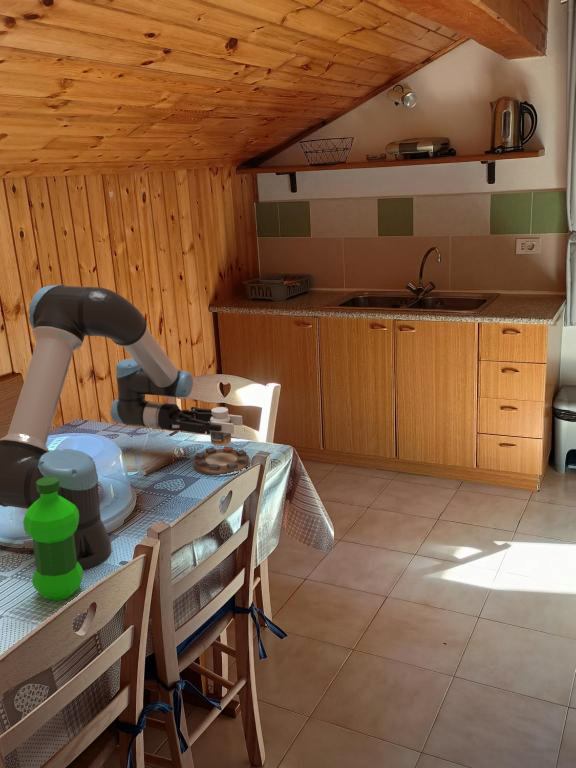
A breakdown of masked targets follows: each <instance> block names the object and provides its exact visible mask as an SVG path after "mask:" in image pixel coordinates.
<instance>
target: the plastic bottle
mask: <svg viewBox="0 0 576 768" xmlns="http://www.w3.org/2000/svg"><path fill="white" fill-rule="evenodd" d="M36 488H37V492H38V493H40V498H39V499H38V500H37V501H35V502H34V503H33V504H32V505H31V506H30V507H29V508H28V509H26V512H25V516H24V518H23V521H22V523H23V529H24V531H25V534H26V535H28V536H29V537H30V538H31V539H32V546H33V547H32V548H33V553H34V563H35V571H34V574H33V576H32V579H31V580H32V581H31V582H32V586H33V588H34V589H35V591H37V592H38V594H40V595H41V596H42V597H44V598H46V599H49V600H50V601H57V602H59V601H63V600H66V599H68V598H69V597H71V596H72V595H73V594H74V593H75V592H76V591H77V590H78V589H79V588H80V586H81V583H82V580H83V576H84V575H83V574H84V569H82V567H81V565H80V564H79V563H78V561H77V557H76V547H75V537H74V532H75V531H76V529H77V526H78V522H79V511H78V509H77V507H76V506H75V505H74V504H73V503H71V502H70V501H68V500H66V499H65V498H63V497H61V496H59V495H58V493H57V491H58V490H59V488H60V485H59V479H58V478H57V477H50V476H49V477H43V478H41V479H39V480H37V482H36Z"/></svg>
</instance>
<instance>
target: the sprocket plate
mask: <svg viewBox="0 0 576 768" xmlns="http://www.w3.org/2000/svg"><path fill="white" fill-rule="evenodd" d="M192 462H193V463H192V465H193V469H194V471H196V472H197V473H199V474H201V475H204V474H205V475H204V476H208V475H220V474H227V473H231V472H234V471H239V470H240V471H242V470H241V469H243V468H247V466H248V465H249V464H251V463H250V456H249V455H248V454H247V451H245V450H243V449H239V450H237V449H234V448H233V446H227V445H224V447H223V448H220V449H219V448H218V449H216V448H215V447H209V448H205V451H204V452H197V453H196V454H195V455H194V458H193V461H192ZM249 466H250V465H249ZM247 469H248V468H247Z"/></svg>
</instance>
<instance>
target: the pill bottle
mask: <svg viewBox="0 0 576 768" xmlns="http://www.w3.org/2000/svg"><path fill="white" fill-rule="evenodd" d="M211 414H212V415H213V416H212V417H211V418H210V424H211V421H215V422H224V423H231V420H230V417H229V416H228V414H229V409H228V407H225V406H217V407H214V408H212V410H211ZM231 442H232V434H230V433H222V432H214V431H211V430H210V444H212V445H214V446H218V447H219V446H220V447H223V446H224V447H225V446H228V445H229V444H231Z"/></svg>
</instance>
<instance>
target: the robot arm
mask: <svg viewBox="0 0 576 768" xmlns="http://www.w3.org/2000/svg"><path fill="white" fill-rule="evenodd" d="M28 314H29V316H28V321H29V324H30V326H31V328H32V329H33V330H32V333H33V336H34V337H35V339H36V344H35V346H34V349H33V352H32V355H31V359H30V362H29V366H28V368H27V371H26V375H25V378H24V382H23V385H22V387H21V391H20V394H19V397H18V399H17V400H18V401H17V402H16V407H15V408H14V409H15V410H14V412H13V416H12V420H11V422H10V426H9V429H8V430H7V431H8V432H7V434H6V435H5V436H3V437H1V438H0V506H2V507H5V508H6V507H7V508H8V507H11V508H20V509H25V510H28V508H29V507H30V506H31V505H32V504H33V503H34V502H35V501H37V500H38V499H39V498H40V493H38V492H37V488H36V482H37V480H39V479H41V478H43V477H49V476H50V477H57V478H58V479H59V485H60V488H59V490H58V491H57V493H58V495H59V496H61V497H63V498H65V499H66V500H68V501H70V502H71V503H73V504H74V505H75V506H76V507H77V509H78V511H79V522H78V526H77V529H76V531H75V532H74V537H75V547H76V557H77V561H78V563H79V564H80V565H81V567H82V569H83V570H86V569H90V568H93V567H94V566H97V565H100V564H101V563H102V562H104V561H105V560H107V559H108V558H109V557H110V555H111V553H112V541H111V540H112V539H111V537H110V535H109V532H108V531H107V529H106V527H105V525H104V522H103V521H102V518H101V508H100V507H101V506H100V505H101V504H100V496H99V495H100V494H99V475H98V473H97V468H96V461H94V459H93V457H92V456H90V455H89V454H88V453H87V452H84V451H81V450H76V449H71V448H63V449H62V450H61V449H53V450H50V449H49V448H48V446H47V442H48V438H49V435H50V431H51V428H52V425H53V421H54V418H55V415H56V411H57V408H58V405H59V402H60V397H61V394H62V391H63V388H64V384H65V381H66V378H67V375H68V370H69V367H70V363H71V361H72V358H73V354H74V351H75V350H78V349H81V347H82V346H83V344H84V343H83V342H84V340H85V337H86V336H87V337H101V338H102V337H104V338H107V339H110V340H111V341H112V342H113V343H114V344H116V345H117V346H119V347H122V348H123V349H124V350H125V351H126V352H127V353H128V354H129V355H130V357H131V358H125V359H121V360H120V361H118V362H117V363H116V365H115V370H116V371H115V372H116V374H115V375H116V376H115V379H116V383H117V384H116V386H117V395H118V398H114V400H113V401H112V402H111V406H110V407H111V409H110V417H111V419H112V421H113V422H115V423H116V424H121V425H125V426H134V427H135V426H137V427H144V428H152V429H153V430H157V429H161V430H166V431H167V430H168V431H178V432H179V431H180V432H181V431H182V432H188V433H192V434H193V433H194V434H203V435H204V434H206V435H211V431H214V432H222V433H230V434H231V435H232V434H233V435H234V433H235V426H239V427H241V426H243V416H242V415H238V414H237V415H236V414H229V413H228V416H229V417H230V420H231V423H224V422H215V421H211V424H210V418H211V417H212V416H213V415H212V414H211V410H212V409H213V408H212V409H211V408H210V409H209V408H199V407H195V406H190V410H189V409H183V410H182V409H181V408H180V407H179V406H178V405H177V404H174V403H168V402H166V403H164V402H158V401H150V400H145V398H146V395H147V396H159V397H170V398H187V397H189V396H190V395H191V393H192V390H193V386H194V380H193V375H192V373H191V372H189V371H185V370H183V369H182V370H178V369H177V367H176V366H175V364H174V363H173V361H172V360H171V359H170V358H169V356H168V354H167V353H166V352H165V351H164V349H163V348H162V347H161V345H160V344H159V343H158V341H157V340H156V338H154V336H153V335H152V333H151V332H150V330H149V329H148V322H147V320H146V318H145V316H144V315H143V314H142V313H141V311H140V310H139V309H138V308H137V307H136V306H135V305H134V304H133V303H131V301H129V300H128V299H127V298H125V297H123V296H122V295H120V294H119V293H117V292H115V291H113V290H111V289H109V288H105V287H101V286H100V287H98V286H94V287H93V286H76V285H75V286H74V285H73V286H71V285H65V284H55V285H46V286H44V287H41V288H40V289H39V290H37V291H36V292H35V293H34V295H33V296H32V299H31V300H30V303H29V307H28ZM210 430H211V431H210Z"/></svg>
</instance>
